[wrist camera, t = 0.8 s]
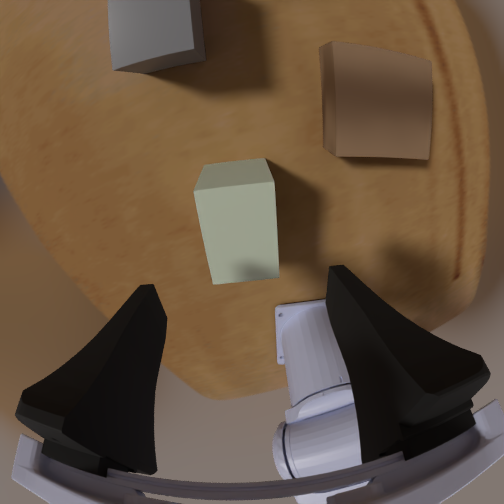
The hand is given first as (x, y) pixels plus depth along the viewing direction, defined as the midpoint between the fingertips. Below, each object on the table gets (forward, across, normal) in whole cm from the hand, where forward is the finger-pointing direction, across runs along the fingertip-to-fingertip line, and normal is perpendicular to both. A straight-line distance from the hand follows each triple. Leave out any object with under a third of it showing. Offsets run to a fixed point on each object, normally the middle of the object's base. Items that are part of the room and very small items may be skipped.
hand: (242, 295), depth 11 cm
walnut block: (+10, -10, -7) cm, 15 cm away
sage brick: (+10, 0, 0) cm, 10 cm away
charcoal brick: (+10, +3, -13) cm, 16 cm away
